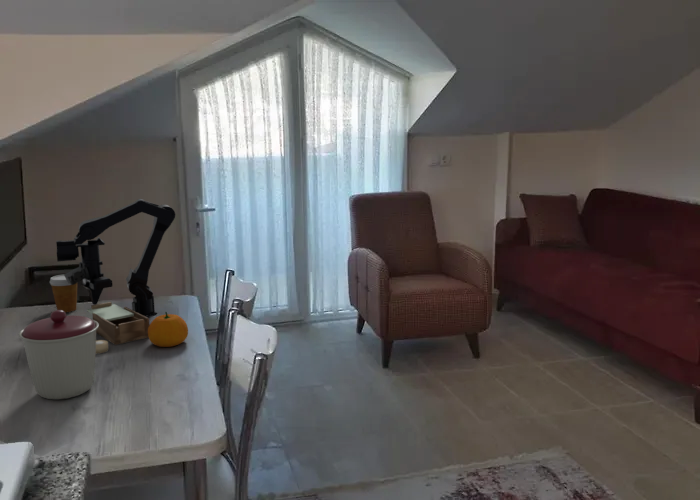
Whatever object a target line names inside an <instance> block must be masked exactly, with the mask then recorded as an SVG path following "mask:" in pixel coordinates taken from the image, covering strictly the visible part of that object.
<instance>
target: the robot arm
mask: <svg viewBox="0 0 700 500" xmlns="http://www.w3.org/2000/svg"><path fill="white" fill-rule="evenodd" d="M140 213H142V214H143V213H144V214H147V215H149V216H152V217H154V218H153V225H152V229H151V231H150V235H149V236H148V239H147V242H146V243H145V247H144V249H143V252H142V254H141V256H140V259H139V262H138V264H137V266H136V267H135V268H134V269H132V268H130V269H129V272H128V275H127V277H126V278H125V281H126V286H127V289H128V291H129V293H130V294H132V295H133V297H132V302H131V310H133V311H135V312H137V313H139V314H141V315H143V316H145V317H149V316H154V315H157V314H158V312H157V311H155V297H154V292H153V290H152V289H151V287H150V286H149V285H148V281H149V272H150V269H151V267H152V264H153V261H154V260H155V257H156V254H157V252H158V250H159V247H160V245H161V242H162V239H163V237H164V235H165V233H166V231H168V229H169V228H170V227H171V225H172V223H174V220H175V219H176V212H175V210H174V209H173V208H172V207H171V206H170V205H168V204H160V205H159V204H157V203H153V202H150V201H146V200H145V199H142V198H139V199H136V200H135V201H133V202H131V203H129V204H127V205H125V206H123V207H119V209H117V210H114V211H112V212H110V213H108V214H106V215H102V216H98V217H94V218H89V219H86V220H83V221H82V222H81V223H79V226H78V232H77V234H76V235H75V236H74V238H73V239H72V240H69V239H68V240H56V242H55V245H56V260H57V261H56V262H59V263H60V262H71V261H77V258H79V257H81V258H80V259H81V261H80V262H79V263H78V266H77V267H75V268H74V269H72V270H70V271H68V272H66V273H65V274H63V275H64V276H65V278H66V280H67V282H68V283H69V284H71V285H74V284H76V283H77V284H78V282H81V281H82V283H80V286H82V287H84V288H85V289H86V290H87V291H86V292H87V293H88V296H89V299H90V300H91V303H92V305H96V304H99V303H98V302H99V299H100V297H101V296H102V295H101V294H102V293H103V290H104V289H108V288H112V287H113V280H111V278H109V277H106V276H105V275H104V273H102V265H103V264H104V263H103V261H102V260H101V255H100V253H101V252H100V246H105V245H106V243H105V241H104V240H102V239H101V238H100V237H99V236H100V235H101V234H103V233H104V232H105V231H106V230H108V229H109V228H110V227H113V226H114V225H117V224H119V223H121V222H123V221H125V220H127V219H129V218H130V219H131V217H134V216H136V215H138V214H140ZM95 238H96V239H95ZM79 248H80V252H79ZM80 254H81V255H80Z"/></svg>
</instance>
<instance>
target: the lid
mask: <svg viewBox="0 0 700 500" xmlns="http://www.w3.org/2000/svg"><path fill="white" fill-rule="evenodd" d="M90 306H91V307H90V308H87V309H86V312H88V313H89V314H91V315H92V314H93V313H95V314H97V315H98V316H100V317H102V318H104V319H106V320H108V321H112V320H116V319H121V318H126V317H131V316H134V314H133V313H131V312H129V311H127V310H125V309H124V307H121V306H119V305H117V304H115V303H112V301H106V302H103V303H97V304H96V305H94V304H92V305H90Z"/></svg>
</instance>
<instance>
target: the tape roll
mask: <svg viewBox="0 0 700 500" xmlns="http://www.w3.org/2000/svg"><path fill="white" fill-rule="evenodd" d="M108 351H109V341H108V340H106V339H98V340H96V354H99V355H100V354H104V353H106V352H108Z"/></svg>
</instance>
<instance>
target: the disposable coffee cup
mask: <svg viewBox="0 0 700 500" xmlns="http://www.w3.org/2000/svg"><path fill="white" fill-rule="evenodd" d="M64 275H65V274H58V275H54V276H52V277H50V280H49V284H50V286H51V290H52V294H53V298H54V303H55V307H56V310H63V311H64V312H65V313H70V312H75V311H76V310H77V305H78V304H77V301H78V282H77V283H76V284H74V285H71V284H69V283H68V282H67V280H66V278H65V276H64Z"/></svg>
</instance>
